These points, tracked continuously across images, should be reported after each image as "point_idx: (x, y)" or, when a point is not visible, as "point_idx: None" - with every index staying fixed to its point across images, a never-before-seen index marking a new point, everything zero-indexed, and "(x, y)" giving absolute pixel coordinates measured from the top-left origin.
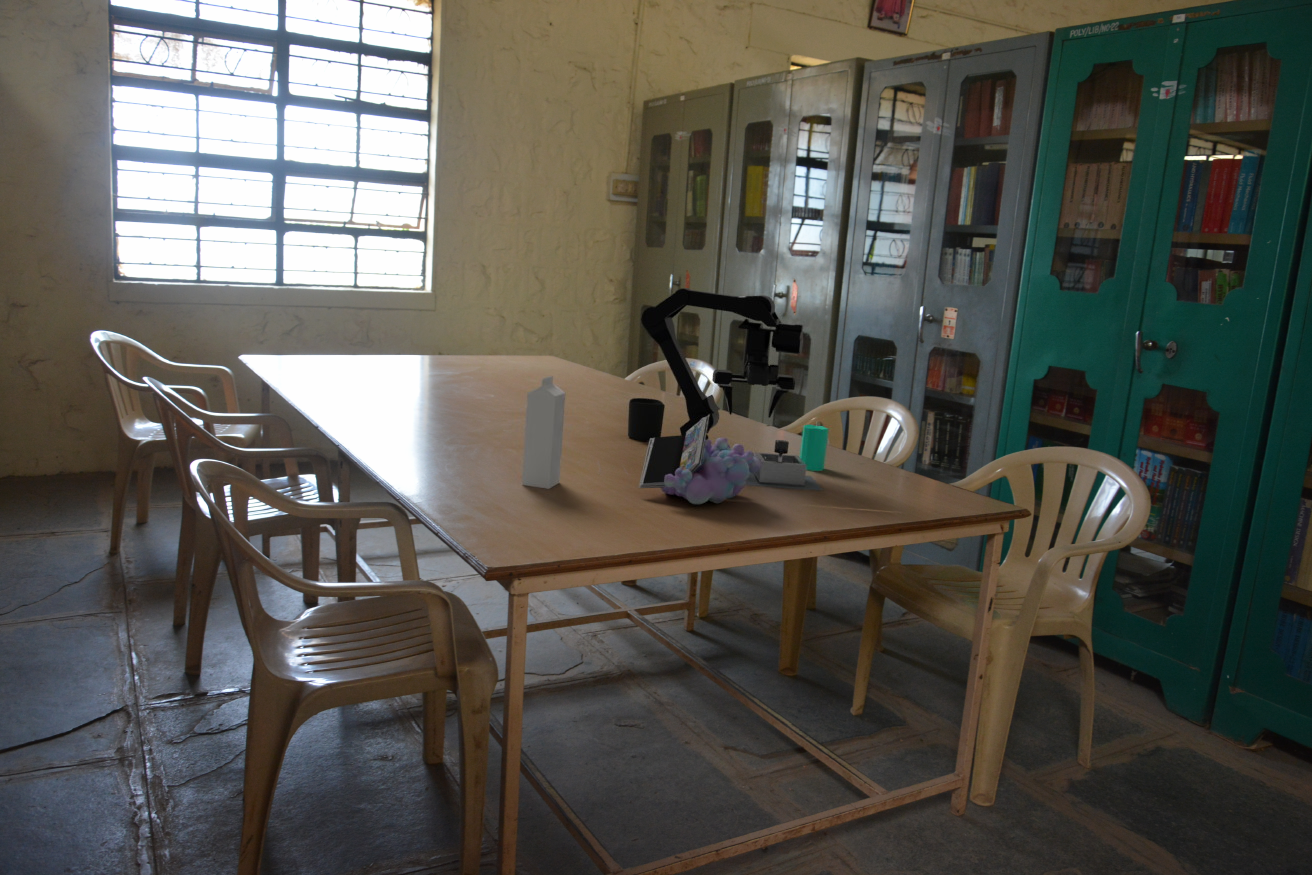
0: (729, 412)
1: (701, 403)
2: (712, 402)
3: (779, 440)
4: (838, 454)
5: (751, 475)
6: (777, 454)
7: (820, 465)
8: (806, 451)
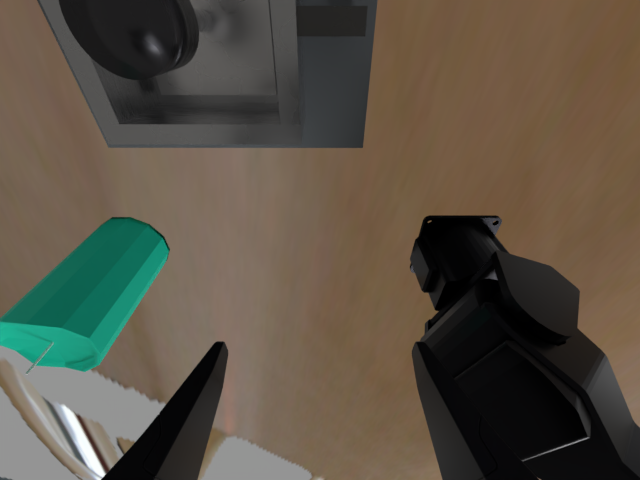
0: (430, 350)
1: (591, 394)
2: (492, 421)
3: (144, 60)
4: (114, 359)
5: (313, 78)
6: (199, 133)
7: (93, 232)
8: (119, 261)
